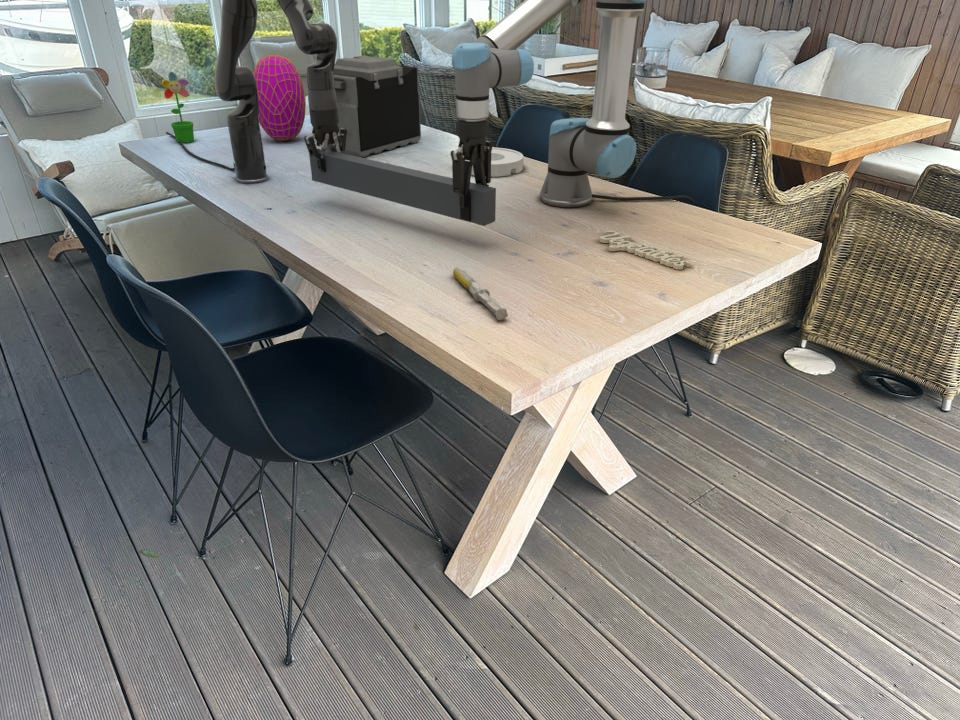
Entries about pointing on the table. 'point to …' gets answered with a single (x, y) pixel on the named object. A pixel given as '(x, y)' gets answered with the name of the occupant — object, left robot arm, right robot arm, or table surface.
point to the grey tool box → (376, 104)
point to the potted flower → (181, 128)
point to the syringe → (479, 293)
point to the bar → (404, 186)
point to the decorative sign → (643, 250)
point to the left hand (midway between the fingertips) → (329, 169)
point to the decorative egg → (280, 97)
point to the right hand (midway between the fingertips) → (472, 216)
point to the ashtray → (504, 162)
